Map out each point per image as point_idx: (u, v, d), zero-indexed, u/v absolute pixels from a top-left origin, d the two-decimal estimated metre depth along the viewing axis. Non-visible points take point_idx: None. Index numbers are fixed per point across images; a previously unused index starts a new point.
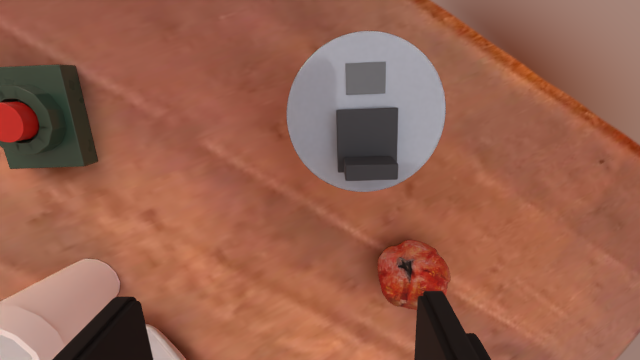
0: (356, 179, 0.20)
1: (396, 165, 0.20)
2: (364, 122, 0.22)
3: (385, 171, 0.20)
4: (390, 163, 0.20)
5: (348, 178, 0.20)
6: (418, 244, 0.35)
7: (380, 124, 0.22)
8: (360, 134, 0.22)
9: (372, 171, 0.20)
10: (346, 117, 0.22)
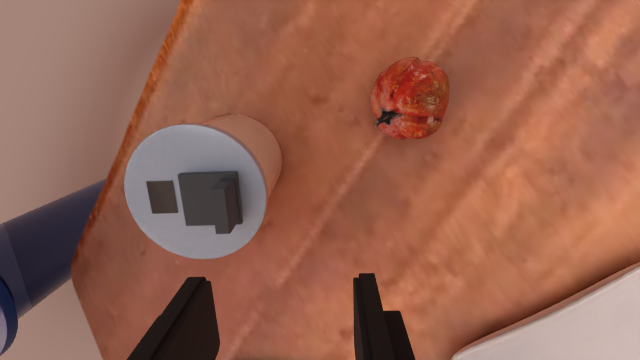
0: (227, 224, 0.22)
1: (210, 190, 0.21)
2: (193, 203, 0.24)
3: (217, 200, 0.21)
4: None
5: (227, 231, 0.22)
6: None
7: (193, 189, 0.24)
8: (204, 206, 0.24)
9: (218, 211, 0.22)
10: (190, 218, 0.24)
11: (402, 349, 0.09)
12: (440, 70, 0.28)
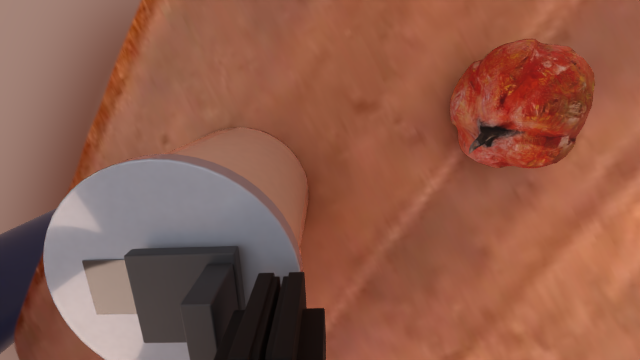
0: None
1: (182, 308, 0.10)
2: (155, 305, 0.13)
3: (196, 325, 0.10)
4: None
5: None
6: (454, 100, 0.20)
7: (154, 281, 0.13)
8: (176, 310, 0.13)
9: (199, 346, 0.10)
10: (151, 330, 0.13)
11: (313, 345, 0.09)
12: (582, 59, 0.17)
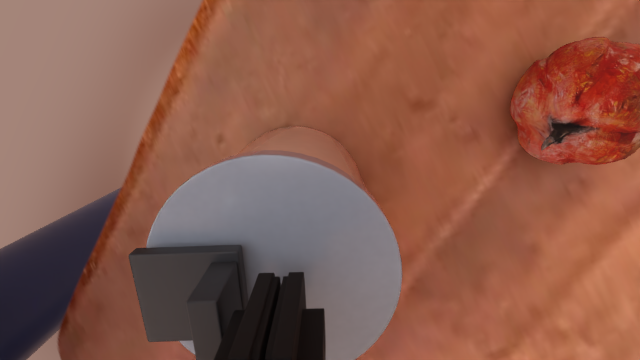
0: None
1: (188, 304, 0.10)
2: (160, 304, 0.13)
3: (202, 322, 0.10)
4: None
5: None
6: (519, 97, 0.20)
7: (159, 280, 0.13)
8: (181, 309, 0.13)
9: (205, 343, 0.11)
10: (155, 329, 0.13)
11: (313, 345, 0.09)
12: None
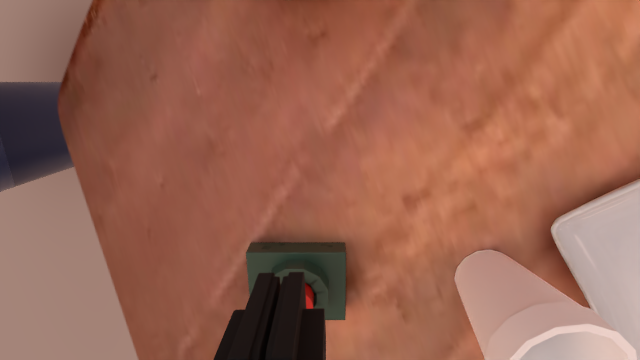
0: None
1: None
2: None
3: None
4: None
5: None
6: None
7: None
8: None
9: None
10: None
11: (313, 345, 0.09)
12: None
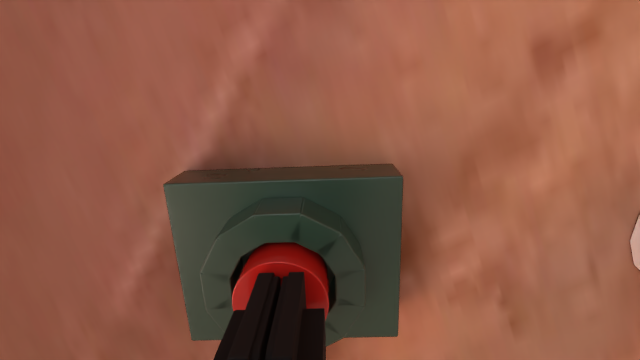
0: None
1: None
2: None
3: None
4: None
5: None
6: None
7: None
8: None
9: None
10: None
11: (313, 345, 0.09)
12: None
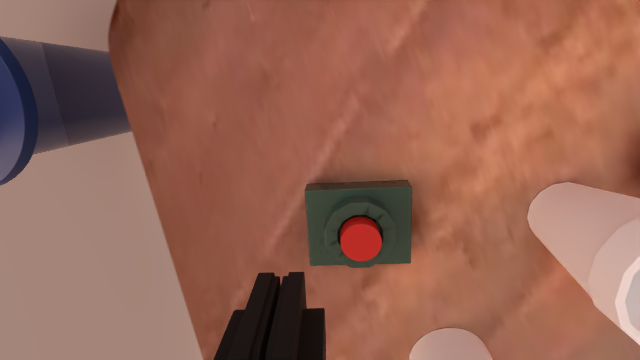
0: None
1: None
2: None
3: None
4: None
5: None
6: None
7: None
8: None
9: None
10: None
11: (313, 345, 0.09)
12: None
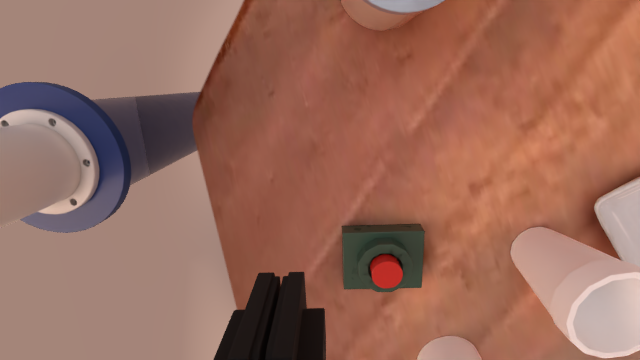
0: None
1: None
2: None
3: None
4: None
5: None
6: None
7: None
8: None
9: None
10: None
11: (313, 345, 0.09)
12: None
